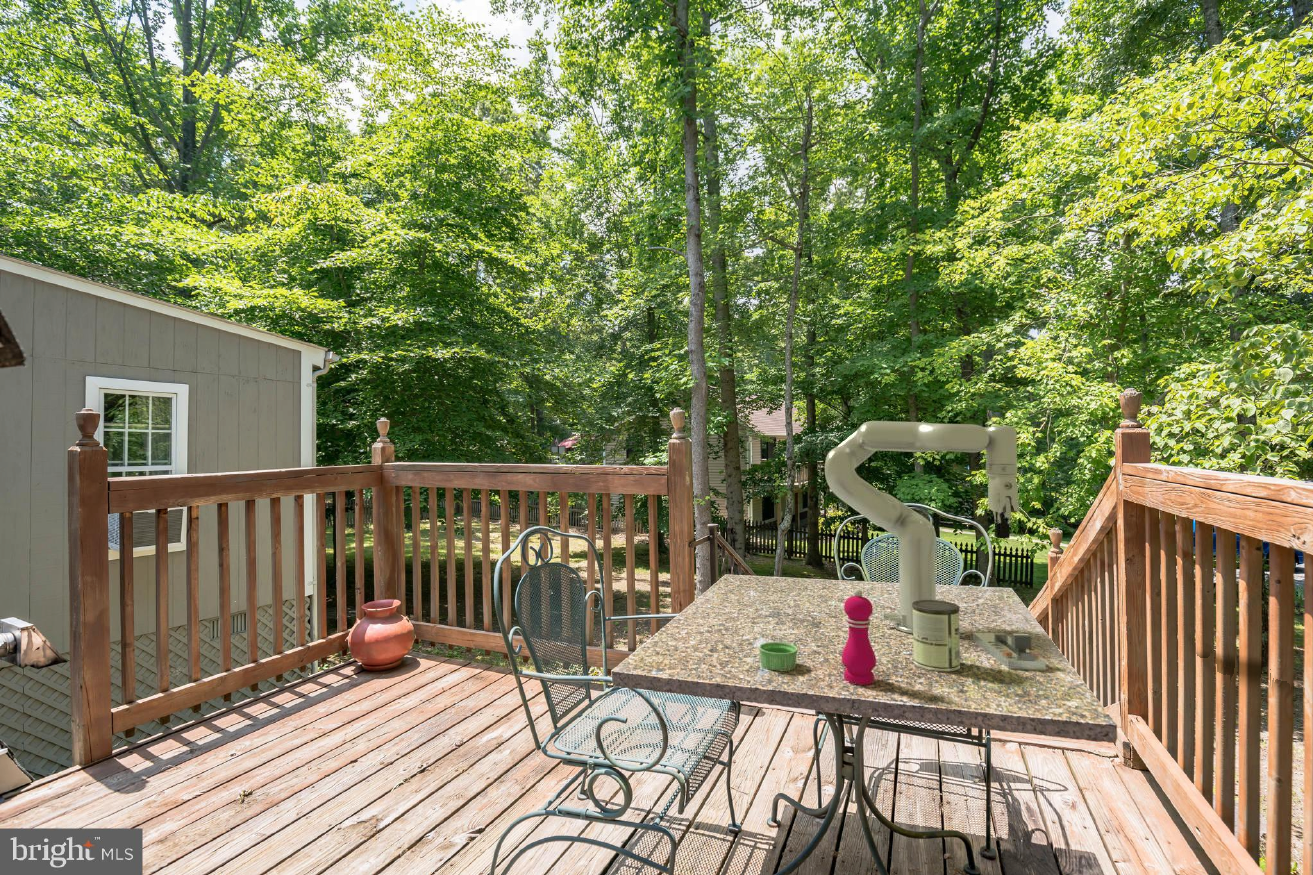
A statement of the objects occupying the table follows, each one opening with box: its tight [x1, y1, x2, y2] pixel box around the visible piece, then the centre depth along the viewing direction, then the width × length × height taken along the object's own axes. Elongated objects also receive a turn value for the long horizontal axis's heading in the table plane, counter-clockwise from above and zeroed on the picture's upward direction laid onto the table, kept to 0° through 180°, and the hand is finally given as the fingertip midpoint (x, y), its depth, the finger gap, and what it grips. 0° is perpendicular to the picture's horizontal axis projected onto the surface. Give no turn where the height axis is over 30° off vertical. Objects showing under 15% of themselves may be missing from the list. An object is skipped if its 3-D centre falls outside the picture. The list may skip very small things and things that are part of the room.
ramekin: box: [758, 641, 799, 671], centre depth 153 cm, size 9×9×4 cm
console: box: [972, 632, 1046, 671], centre depth 161 cm, size 8×23×4 cm, turn 173°
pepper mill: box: [841, 588, 877, 686], centre depth 143 cm, size 7×7×20 cm
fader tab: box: [1010, 633, 1032, 655], centre depth 153 cm, size 4×2×5 cm, turn 83°
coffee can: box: [912, 599, 961, 673], centre depth 153 cm, size 10×10×14 cm
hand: (1002, 537), depth 178 cm, fingers closed
